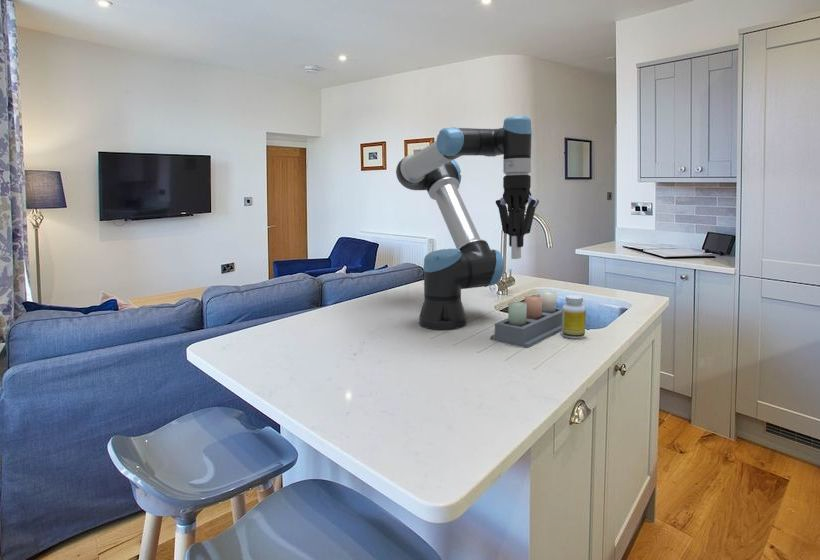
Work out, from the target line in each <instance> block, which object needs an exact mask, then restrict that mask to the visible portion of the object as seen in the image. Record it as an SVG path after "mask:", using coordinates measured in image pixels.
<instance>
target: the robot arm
mask: <svg viewBox="0 0 820 560" xmlns="http://www.w3.org/2000/svg"><path fill="white" fill-rule="evenodd" d="M532 134H533V131H532V120H531V118H530V117H529V116H522V115H521V116H520V115H518V116H517V115H516V116H508V117H506V118H505V119H504V120H503V125H502V127H498V128H476V127H475V128H474V127H473V128H469V127H455V126H453V127H452V126H451V127H444V128H442V129H440V130H439V132H438V134H437V136H436V140H435V141H433V142H432V143H430V144H429V145H427V146H425V147H424V148H423V149H421V150H420V151H418V152H417V153H415V154H408V155H406V156H405V157H403V158H402V159H401V160H400V161H399V162H398V163H397V165H396V169H395V175H396V179H397V181H398V182H399V183H400V185H401V186H403V187H404V188H406V189H407V190H411V191H427V194H428V196H429V197H430V199H432V200H433V201H436V204H437V207H438V209H439V210H440V214H441V215H442V217H443V220H444V222H445V226H447V229H448V232H449V234H450V237H451V239H452V241H453V243H454V246H455V248H443V249H437V250H433V251H431V252H429V253H427V254H426V255H425V256H424V258H423V260H424V261H423V268H422V269H423V287H424V288H423V290H424V292H423V293H424V294H423V295H424V299H423V300H424V301H423V304H422V306H421V309H420V314H419V318H418V319H419V321H418V323H419V325H420V326H421V327H424V328H427V329H432V330H455V329H459V328H463V327H465V326H466V325H467V315H466V313H465V309H464V305H463V302H462V290H466V289H473V288H474V289H475V288H482V287H484V288H487V287H489V286H494V285H497V284H498V283H499V282H500V281H501V279H502V277H503V274H504V269H505V268H504V267H505V266H504V265H505V264H504V258H503V255H502V253H501V252H500V251H499V250H496V249H491V248H490V245H489V244H488V241H486V240H485V239H481V237H480V235H479V233H478V231H477V228H476V226H475V224H474V222H473V219H472V218H471V216H470V214H469V212H468V209H467V207H466V205H465V203H464V200H463V198H462V196H461V194H460V192H459V189H460V184H461V181H462V175H461V171H462V169H461V168H460V165H459V163H458V162H457V161H456V160H457V159H458V158H460V157H463V156H484V157H489V158H490V157H491V158H492V157H497V156H502V155H503V157H502V158H503V160H502V161H503V167H502V168H503V169H502V171H503V174H504V177H502V179H503V181H502V184H503V185H502V188H503V193H502V197H500V198H499V199H497V200H495V205H496V207H497V208H498V213H499V217H500V223H501V228H502V232H503V233H504V234H507V235H508V237H509V238H508V245H509V247H511V248H510V249H511V251H510V252H511V253H510V254H511V256H510V257H511V260H518V259H519V260H520V259H522V248H523V247H524V237H525V235H528V234H530V233H531V230H532V224H533V221H534V218H535V217H534V216H535V211H536V208H537V206H538V205H539V202H540V201H539V199H537V198H536V199H535V198H534V197H533V196H532V192H531V182H532V180H531V177H532V176H531V175H530V174H531V173H532Z"/></svg>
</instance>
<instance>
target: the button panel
mask: <svg viewBox="0 0 820 560" xmlns="http://www.w3.org/2000/svg"><path fill="white" fill-rule="evenodd" d="M561 331H562V307H561V308H560V307H556V312H554V313H552V314H551V313H545V312H542V318H541V319H538V320H535V319H529V318H526V325H524V326H522V327H519V326H514V325H509V324H508V317H507V318H505V319H503V320H500V321H498V322H495V323H494V334H492V335H490V336H489V340H492V341H495V342H501V343H503V344H504V343H505V344H510V345H513V346H519V347H523V348H526V349H527V348H530V347H533V346H535V345H536V344H539V343H541V342H542V341H544V340H546V339H548V338H550V337H552V336H554V335H556V334H558V333H561Z"/></svg>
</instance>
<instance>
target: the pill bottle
mask: <svg viewBox="0 0 820 560" xmlns="http://www.w3.org/2000/svg"><path fill="white" fill-rule="evenodd" d="M565 302H566V303H565V304H563V306H562V307H561V308H562V331H560V333H561V335H562V337H564V338H568V339H574V340H575V339H582V338H584V337H585V333H586V332H585V331H586V316H587V315H586V314H587V312H586V311H587V310H586V306H585V305H583V302H584V297H583V296H581V295H577V294H576V295H575V294H572V295H571V294H569V295H566V296H565Z"/></svg>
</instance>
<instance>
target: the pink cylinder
mask: <svg viewBox="0 0 820 560" xmlns="http://www.w3.org/2000/svg"><path fill="white" fill-rule="evenodd" d="M524 303H526V304H527V314H526V318H529V319H535V320H538V319H541V318H542V298H541V297H539V296H536V295H535V296H534V295H529V296H524Z"/></svg>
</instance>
